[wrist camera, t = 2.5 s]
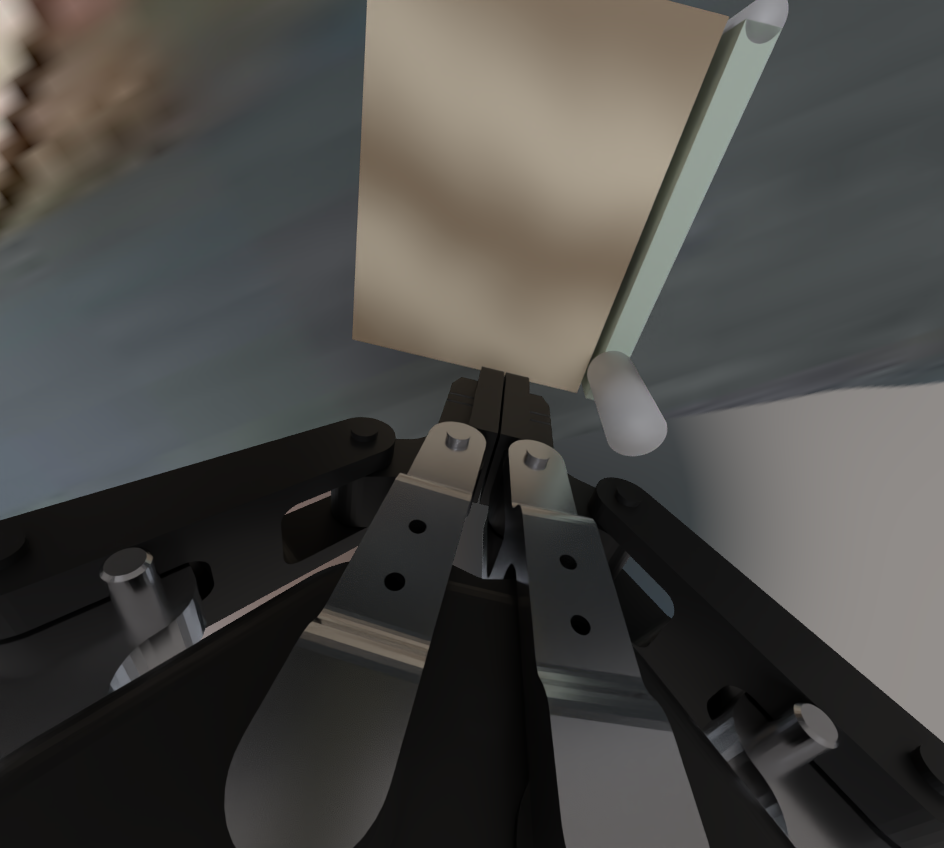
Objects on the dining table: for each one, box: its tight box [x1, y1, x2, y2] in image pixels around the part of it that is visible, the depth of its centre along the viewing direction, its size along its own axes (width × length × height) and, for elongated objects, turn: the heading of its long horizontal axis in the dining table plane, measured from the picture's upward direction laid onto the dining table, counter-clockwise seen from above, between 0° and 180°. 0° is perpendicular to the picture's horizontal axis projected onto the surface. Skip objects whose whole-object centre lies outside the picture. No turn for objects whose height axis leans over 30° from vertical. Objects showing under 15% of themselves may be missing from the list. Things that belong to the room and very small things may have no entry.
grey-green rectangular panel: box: [581, 0, 788, 456], centre depth 16 cm, size 12×2×16 cm, turn 168°
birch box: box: [352, 0, 729, 393], centre depth 19 cm, size 12×10×11 cm
